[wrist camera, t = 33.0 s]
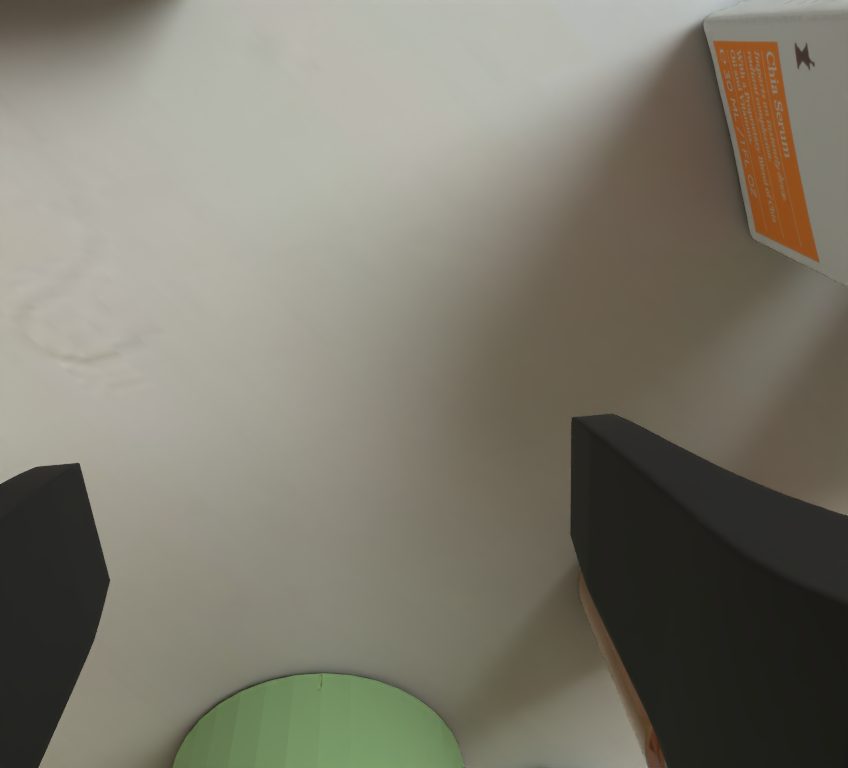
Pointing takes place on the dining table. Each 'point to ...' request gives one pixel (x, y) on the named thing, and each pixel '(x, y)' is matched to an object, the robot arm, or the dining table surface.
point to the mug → (320, 728)
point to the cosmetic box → (789, 122)
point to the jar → (623, 684)
